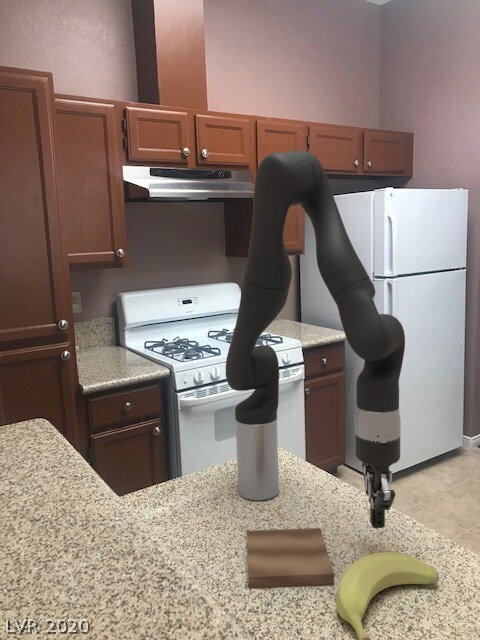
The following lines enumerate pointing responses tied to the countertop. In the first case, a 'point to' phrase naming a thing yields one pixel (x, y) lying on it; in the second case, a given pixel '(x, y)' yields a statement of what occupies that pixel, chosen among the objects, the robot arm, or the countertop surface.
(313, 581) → the walnut board
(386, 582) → the banana
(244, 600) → the countertop surface
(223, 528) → the countertop surface
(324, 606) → the countertop surface
